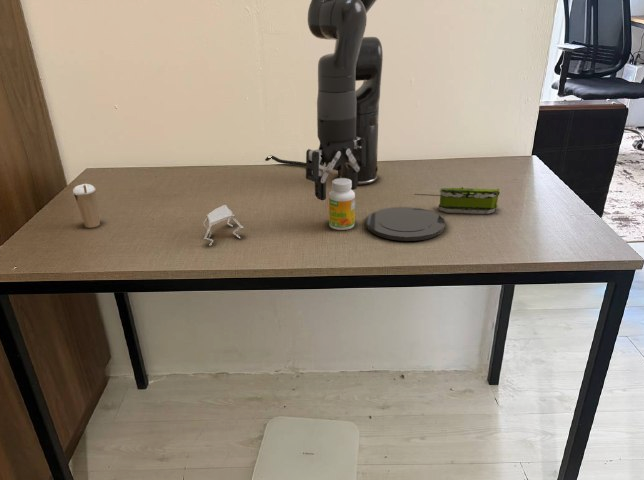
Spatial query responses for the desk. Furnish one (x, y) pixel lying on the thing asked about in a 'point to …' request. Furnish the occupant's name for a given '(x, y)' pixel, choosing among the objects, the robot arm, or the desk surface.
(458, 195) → the toy tank
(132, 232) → the desk surface
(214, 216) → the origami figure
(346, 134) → the robot arm
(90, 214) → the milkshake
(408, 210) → the plate
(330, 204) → the supplement bottle
